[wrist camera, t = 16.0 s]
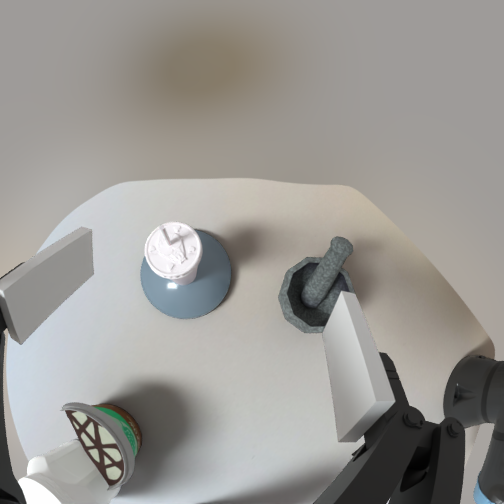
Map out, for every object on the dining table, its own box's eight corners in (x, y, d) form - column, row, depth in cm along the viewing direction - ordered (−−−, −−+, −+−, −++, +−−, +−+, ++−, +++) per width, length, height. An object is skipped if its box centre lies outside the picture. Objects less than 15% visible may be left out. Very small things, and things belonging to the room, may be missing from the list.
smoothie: (186, 242, 39) (172, 189, 26) (215, 274, 38) (213, 233, 25) (152, 270, 37) (120, 229, 24) (181, 304, 36) (158, 279, 23)
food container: (165, 456, 29) (150, 485, 20) (132, 466, 28) (109, 493, 18) (124, 384, 32) (95, 392, 23) (92, 396, 31) (57, 406, 22)
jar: (56, 469, 24) (8, 496, 10) (65, 430, 28) (9, 452, 14) (114, 505, 24) (80, 549, 10) (127, 469, 27) (89, 513, 13)
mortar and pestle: (324, 344, 37) (363, 340, 26) (263, 325, 38) (280, 314, 26) (342, 274, 41) (381, 247, 30) (286, 254, 42) (309, 218, 30)
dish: (202, 217, 42) (201, 214, 41) (248, 288, 39) (249, 286, 38) (129, 259, 39) (126, 257, 38) (169, 336, 36) (168, 335, 35)
